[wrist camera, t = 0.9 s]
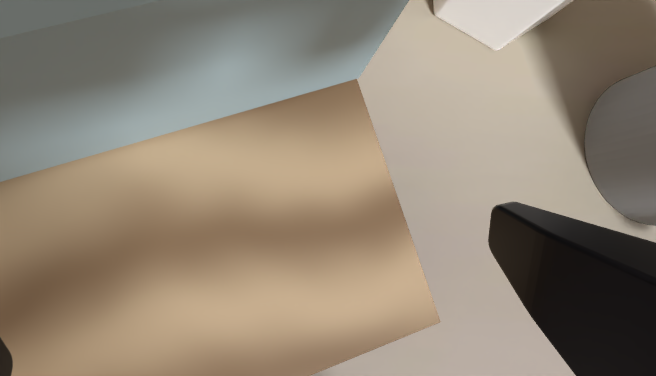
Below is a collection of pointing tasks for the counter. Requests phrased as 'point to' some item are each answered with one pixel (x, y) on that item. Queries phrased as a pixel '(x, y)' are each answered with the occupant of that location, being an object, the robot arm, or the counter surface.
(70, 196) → the cart bed
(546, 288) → the robot arm
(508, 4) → the jar
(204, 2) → the grey flat slab
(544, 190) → the counter surface
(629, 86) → the grey mug
